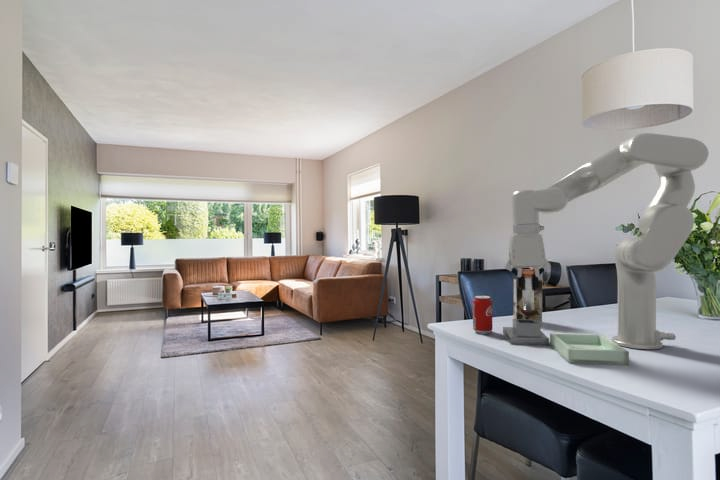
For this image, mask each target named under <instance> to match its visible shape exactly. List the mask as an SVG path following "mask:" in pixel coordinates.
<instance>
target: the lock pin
mask: <svg viewBox="0 0 720 480" xmlns="http://www.w3.org/2000/svg"><path fill="white" fill-rule="evenodd" d="M533 274H535V270H533V268H532V269H528V268H527V269H525V268H524V269H523V268H522V277H523V281H524V290H523V310H534V286H533Z"/></svg>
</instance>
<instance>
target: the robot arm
mask: <svg viewBox="0 0 720 480" xmlns="http://www.w3.org/2000/svg"><path fill="white" fill-rule="evenodd" d="M709 152H710V151H709V149H708V147H707V145H706V144H705V143H704V142H702V141H700V140H699V139H695V138H691V137H685V136H677V135H675V136H674V135H668V134H663V133H662V134H661V133H651V132H650V133H648V132H644V133H638V134H635V135H634V136H632V137H630V138H627V139H625V140H624V141H622V142H620V143H618V144H616V145H615V146H613V147H611V148H610V149H608V150H606V151H605V152H604V153H601V154H600V155H598V156H596V157H595V158H593V159H591V160H590V161H588V162H586V163H584V164H583V165H581V166H579V167H578V168H576V169H575V170H574V171H572V172H571V173H569V174H568V175H566V176H565V177H563V178H562V179H559V180H558V181H556V182H555V183H553V184H551V185H550V186H548V187H546V188H542V189H541V188H540V189H520V190H516V191H514V192H513V193H512V195H511V203H512V204H511V208H512V233H513V234H511V235H510V237H509V246H508V260H507V261H506V264H505V266H504V269H506V270H508V271H509V272H511V273H513V274H514V275H515V277H516V279H517V286H518V287H519V289H520V290H524V281H523V277H522V270H523V268H532V270H535V274H533V286H534V290H537V287H539V282H538V280H539V277H540V276H541V275H543V273H544V272H545V271H546V270H549V269H550V268H551V265H550V263H549V261H548V260H547V258H546V251H545V244H544V243H545V242H544V239H543V234H541V232H542V231H545V226H544V225H541V224H540V216H539V215H540V214H539V213H542V214H545V215H546V214H554V213H558V212H561V211H562V210H563V209H565V208H566V207H567V205H568V203H570V202H572V201H573V200H575V199H577V198H580V197H582V196H584V195H586V194H589V193H593V192H594V191H597V190H599V189H601V188H603V187H605V186H607V185H609V184H610V183H613V181H615V180H617V179H619V178H621V177H622V176H624V175H626V174H628V173H629V172H631V171H633V170H634V169H636V168H638V167H640V166H643V165H646V164H649V165H653V168H654V169H655V171H656V174H657V175H658V178H659V184H658V185H659V186H658V188H657V190H656V192H655V194H654V196H653V197H652V198H651V200H650V201H649V203H648V205H647V206H646V208H645V209H644V211H643V212H642V213H641V215H640V217H639V219H638V223H637V225H638V228H639V229H638V230H639V232H641V233H642V234H643V235H642V237H640V236H639V237H636V236H635V237H629V238H625V239H624V240H622V241H621V242H620V243H619V244H618V245H617V246H616V248H615V252H614V262H615V267H616V275H617V277H616V278H617V335H614V336H612V337H611V341H612V342H614V343H616V344H617V345H619V346H621V347H625V348H629V349H630V348H631V349H637V350H659V349H661V348H663V347H664V346H663V344H664V343H663V341H664V340H667V341H675V340H676V334H675V333H673V332H665V331H659V330H658V329H657V282H656V276H655V273H657V272H660V271H663V270H664V269H666V268H668V266H669V265H670V264H671V263H672V261H673V260H674V259H675V257H676V256H677V255H678V253H679V252H680V250H681V249H682V247H683V245H684V244H685V242H687V240H688V238H689V236H690V235H691V233H692V232H693V229H694V227H695V226H694V225H695V224H694V223H695V218H694V215H693V212H692V211H691V210H690V209H689V208H688V205H689V204H690V202H691V200H692V198H693V196H694V193H695V188H696V187H695V186H696V185H695V180H694V176H693V173H692V171H695V170H698V169H699V168H701V167H702V166H703V165H704V164H705V163H706V162H707V160H708V158H709V155H710V154H709ZM514 267H515V268H514Z"/></svg>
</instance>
